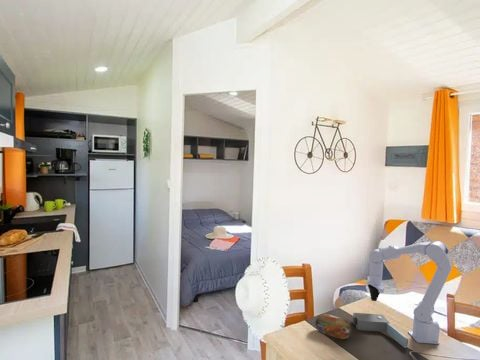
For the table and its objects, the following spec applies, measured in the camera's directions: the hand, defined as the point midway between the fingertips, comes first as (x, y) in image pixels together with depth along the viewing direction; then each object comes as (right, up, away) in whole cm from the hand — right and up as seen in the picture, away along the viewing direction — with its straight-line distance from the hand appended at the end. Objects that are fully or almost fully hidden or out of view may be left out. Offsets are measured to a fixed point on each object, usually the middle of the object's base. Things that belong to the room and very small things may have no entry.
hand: (373, 300), depth 143 cm
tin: (-25, -10, -14) cm, 30 cm away
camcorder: (-5, -10, -7) cm, 13 cm away
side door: (+2, -11, -16) cm, 20 cm away
